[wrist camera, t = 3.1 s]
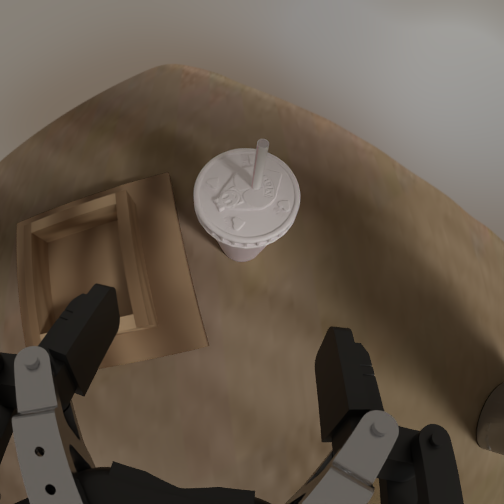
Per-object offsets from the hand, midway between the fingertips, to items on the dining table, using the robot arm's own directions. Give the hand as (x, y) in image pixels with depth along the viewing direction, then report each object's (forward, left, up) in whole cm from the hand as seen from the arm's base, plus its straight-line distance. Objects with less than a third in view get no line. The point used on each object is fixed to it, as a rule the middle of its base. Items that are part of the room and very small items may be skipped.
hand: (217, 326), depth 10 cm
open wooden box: (+11, -7, -14) cm, 19 cm away
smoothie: (-3, -7, -14) cm, 16 cm away
